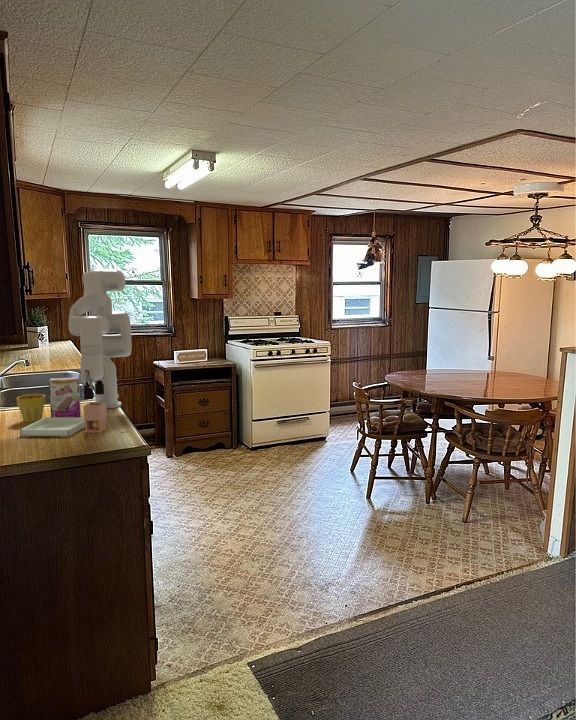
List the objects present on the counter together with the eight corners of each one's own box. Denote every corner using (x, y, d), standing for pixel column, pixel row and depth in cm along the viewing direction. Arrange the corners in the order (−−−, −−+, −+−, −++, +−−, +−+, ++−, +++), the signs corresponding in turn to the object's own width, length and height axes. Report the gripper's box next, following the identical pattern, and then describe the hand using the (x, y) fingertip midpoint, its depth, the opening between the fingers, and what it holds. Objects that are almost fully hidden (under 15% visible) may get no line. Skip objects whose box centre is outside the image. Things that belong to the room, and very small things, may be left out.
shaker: (91, 428, 196) (90, 402, 195) (107, 428, 196) (106, 402, 195) (85, 432, 190) (83, 405, 189) (101, 432, 190) (99, 405, 189)
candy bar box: (50, 420, 208) (48, 380, 206) (52, 417, 213) (49, 378, 210) (80, 418, 211) (78, 378, 209) (81, 415, 216) (79, 376, 214)
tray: (45, 423, 203) (45, 417, 203) (90, 423, 202) (90, 417, 202) (20, 436, 185) (19, 429, 185) (69, 436, 185) (69, 429, 184)
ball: (94, 427, 195) (94, 419, 195) (101, 427, 195) (101, 419, 195) (90, 428, 192) (90, 420, 192) (98, 429, 192) (98, 420, 192)
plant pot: (35, 424, 203) (33, 399, 201) (12, 423, 205) (10, 398, 203) (52, 417, 213) (50, 394, 211) (30, 416, 215) (28, 393, 213)
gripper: (91, 348, 198) (94, 392, 200) (70, 352, 181) (73, 401, 183) (111, 348, 198) (113, 392, 199) (92, 352, 180) (94, 401, 182)
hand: (94, 396), depth 191 cm, fingers open, 9 cm apart
